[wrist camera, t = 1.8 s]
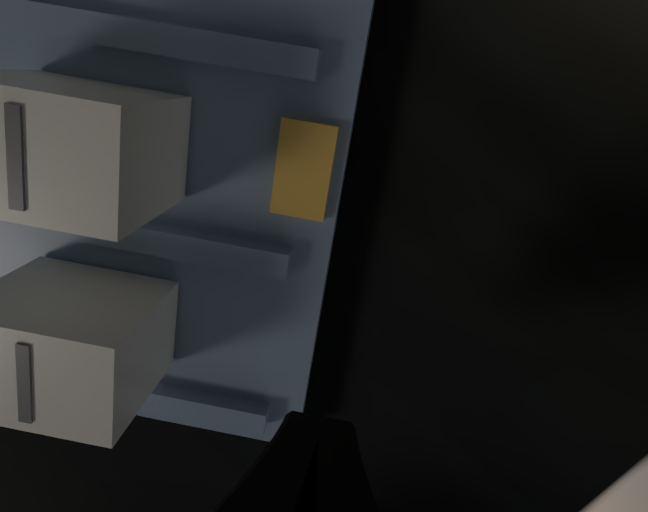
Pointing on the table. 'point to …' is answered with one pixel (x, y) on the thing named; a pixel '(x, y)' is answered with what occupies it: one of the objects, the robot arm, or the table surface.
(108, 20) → the switch bank
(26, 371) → the grey block
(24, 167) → the gray block
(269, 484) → the robot arm
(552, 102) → the table surface
